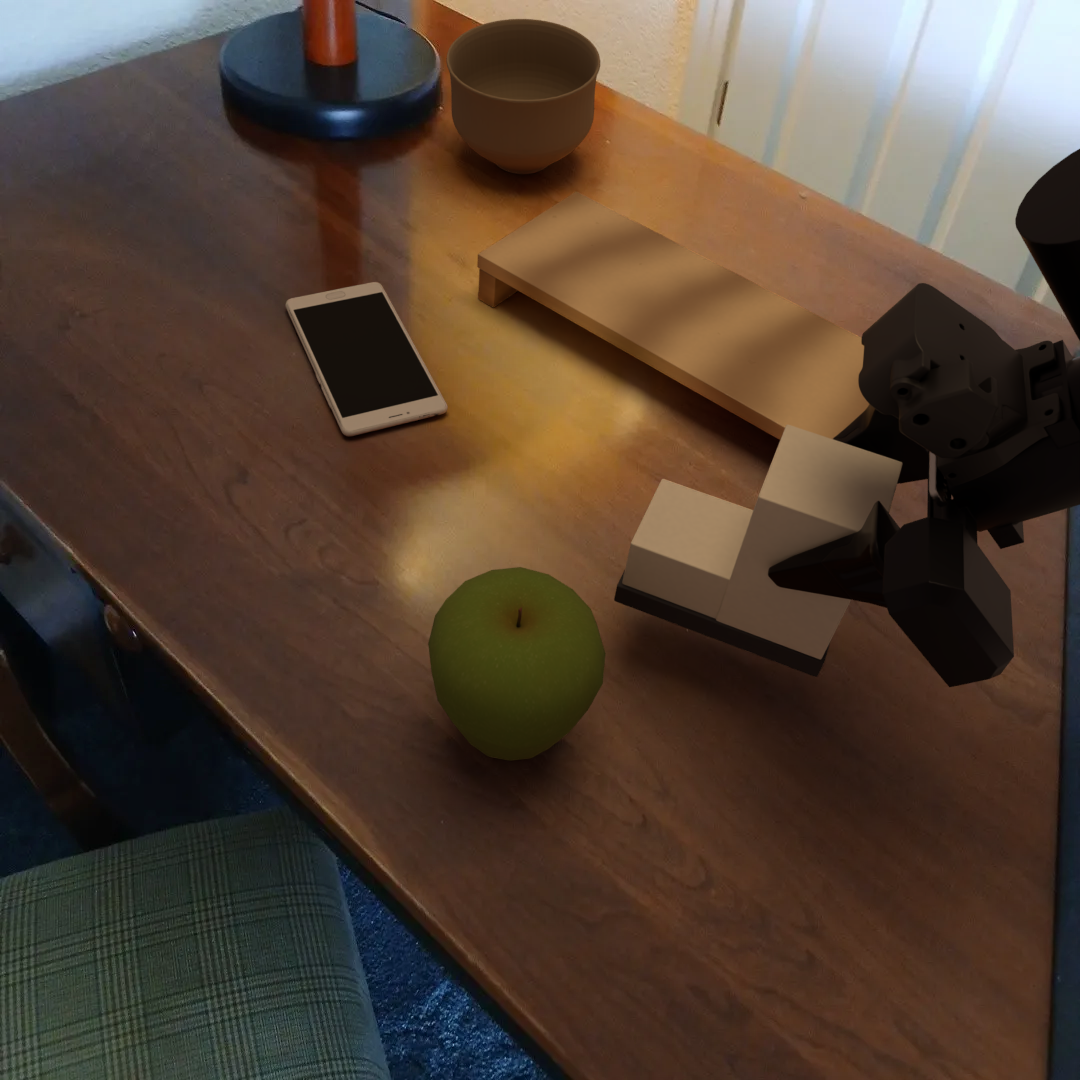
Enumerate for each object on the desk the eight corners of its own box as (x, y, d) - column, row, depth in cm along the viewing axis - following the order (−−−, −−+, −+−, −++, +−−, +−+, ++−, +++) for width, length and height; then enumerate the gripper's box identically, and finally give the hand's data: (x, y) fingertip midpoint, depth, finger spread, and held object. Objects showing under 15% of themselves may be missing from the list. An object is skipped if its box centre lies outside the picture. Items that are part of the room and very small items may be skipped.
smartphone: (380, 279, 80) (450, 408, 71) (380, 286, 80) (450, 415, 72) (282, 298, 77) (343, 434, 69) (283, 305, 78) (344, 441, 69)
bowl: (415, 160, 92) (414, 47, 84) (511, 111, 99) (518, 2, 91) (523, 221, 87) (531, 107, 80) (616, 166, 94) (632, 55, 86)
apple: (617, 756, 56) (651, 635, 47) (482, 833, 53) (492, 718, 44) (530, 640, 61) (547, 509, 52) (400, 703, 57) (394, 575, 48)
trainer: (839, 601, 57) (908, 461, 49) (816, 678, 54) (886, 542, 45) (646, 531, 59) (679, 386, 51) (613, 601, 56) (643, 458, 48)
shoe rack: (895, 406, 76) (914, 364, 73) (814, 496, 70) (832, 454, 67) (571, 233, 87) (576, 190, 84) (475, 297, 80) (477, 253, 77)
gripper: (1025, 140, 44) (712, 300, 53) (1056, 442, 32) (647, 578, 41) (1124, 329, 49) (823, 444, 59) (1183, 649, 37) (794, 727, 47)
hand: (778, 532), depth 51 cm, fingers closed on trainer, 5 cm apart
